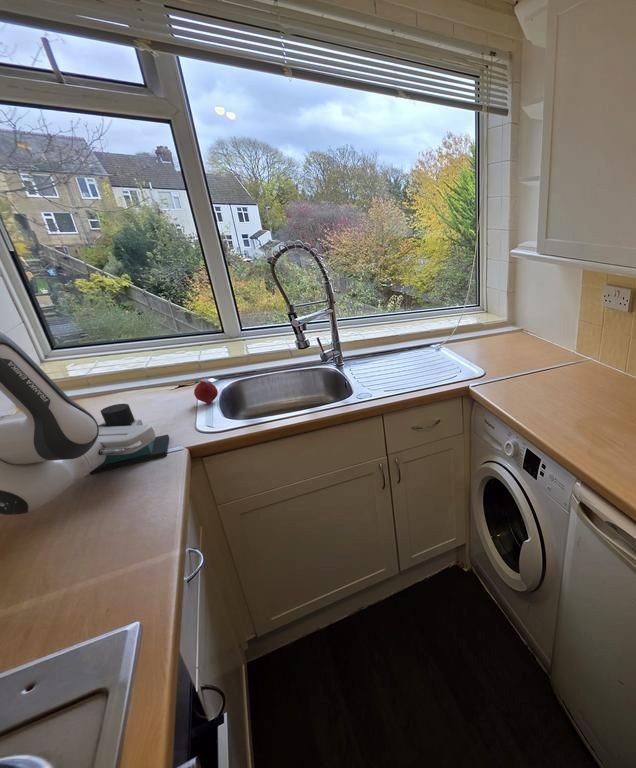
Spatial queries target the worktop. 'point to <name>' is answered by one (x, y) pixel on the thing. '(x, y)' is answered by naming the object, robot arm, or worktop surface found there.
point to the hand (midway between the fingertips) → (124, 422)
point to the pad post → (117, 415)
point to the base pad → (136, 455)
